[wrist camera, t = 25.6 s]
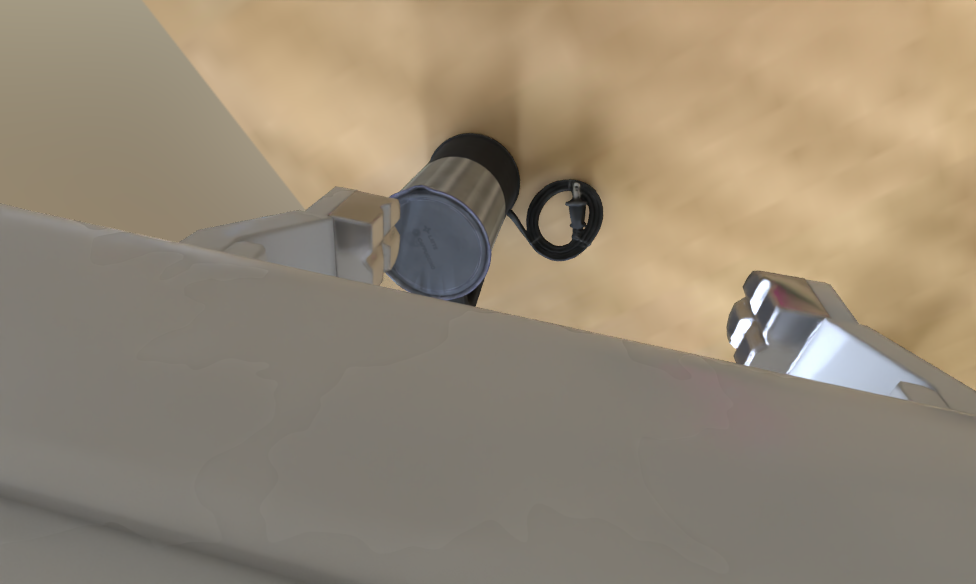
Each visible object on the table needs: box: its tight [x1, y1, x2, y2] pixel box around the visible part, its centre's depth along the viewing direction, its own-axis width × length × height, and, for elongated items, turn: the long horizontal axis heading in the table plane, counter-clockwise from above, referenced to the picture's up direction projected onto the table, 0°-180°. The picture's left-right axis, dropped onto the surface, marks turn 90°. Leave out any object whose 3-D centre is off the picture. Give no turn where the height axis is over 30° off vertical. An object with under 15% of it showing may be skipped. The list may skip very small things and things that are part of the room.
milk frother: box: [385, 133, 603, 307], centre depth 42 cm, size 14×16×15 cm
